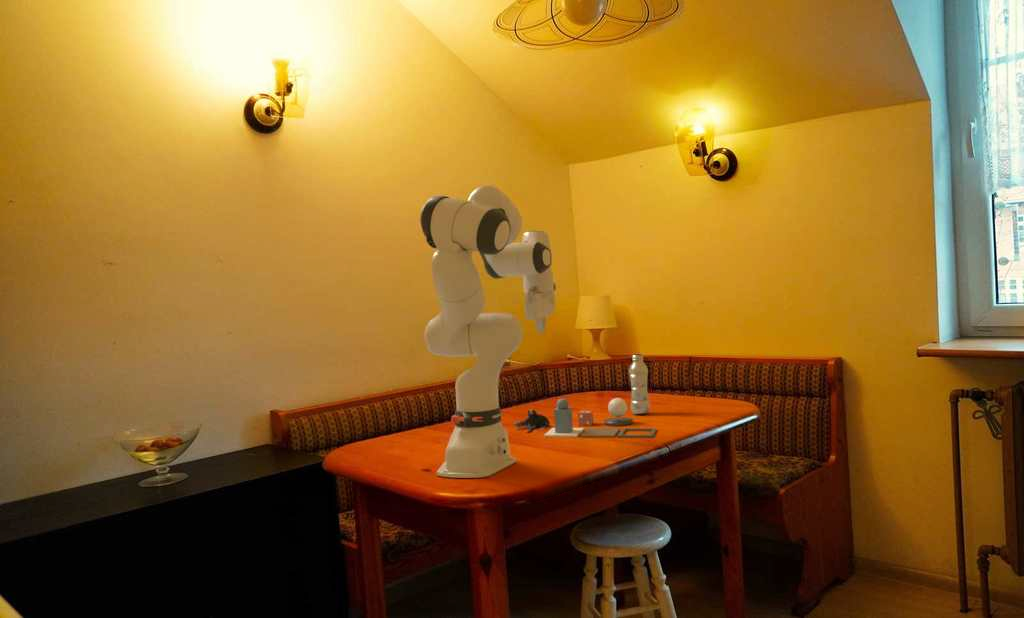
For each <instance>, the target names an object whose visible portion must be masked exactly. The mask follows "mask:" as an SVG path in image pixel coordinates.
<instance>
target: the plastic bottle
mask: <svg viewBox="0 0 1024 618" xmlns="http://www.w3.org/2000/svg"><path fill="white" fill-rule="evenodd" d="M631 360H632V363H631V364H630V366H629V368H628V374H629V379H630V386H631V387H630V388H631V395H630V396H631V400H630V411H631V412H632V413H633V414H634V415H641V416H642V415H645V414H649V412H650V410H651V403H650V400H649V393H648V374H649V369H648V366H647V365H646V363H645V362H644V355H643V353H636V354H631Z"/></svg>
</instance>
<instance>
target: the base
mask: <svg viewBox="0 0 1024 618" xmlns="http://www.w3.org/2000/svg"><path fill="white" fill-rule="evenodd" d="M603 424H604V426H608V425H609V427H624V426H630V425H632V424H634V421H633V418H631V417H627V416H625V417H624V416H621V417H615V416H614V417H609V418H606V419H605V418H604V420H603Z"/></svg>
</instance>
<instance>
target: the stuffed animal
mask: <svg viewBox="0 0 1024 618" xmlns="http://www.w3.org/2000/svg"><path fill="white" fill-rule="evenodd" d="M527 415H528V417H526V418H525V419H524V420H523V421H516V422H514V423H513V426H514V427H515V428H523V427H524V430H526V429H527V431H526V433H527V434H530V433H531V432H533V431H534V430H537V429H538V431H542V430H543V429H544V430H545V429H546V428H549V427H550V420H549V419H548V418H547V417H546V416H545V415H542V414H539V413H537V411H536V410H535V409H531V408H530V409H529V410H528V411H527Z"/></svg>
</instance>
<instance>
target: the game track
mask: <svg viewBox="0 0 1024 618" xmlns="http://www.w3.org/2000/svg"><path fill="white" fill-rule="evenodd" d="M627 431H629V432H650V433H649V434H625V433H626V432H627ZM656 431H657V428H655V427H653V428H651V427H623V428H622V429H620V427H586V428H585V427H573V430H572V431H571V432H570V433H555V427H551V428H550V429H549V430H548V431H547V432H546V433H544V434H543V436H544V438H577V437H580V438H615V437H616V435H617V438H622V439H623V438H624V439H625V438H629V439H630V438H634V439H637V438H639V439H641V438H642V439H646V438H649V439H652V438H654V436H655V434H656Z"/></svg>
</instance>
